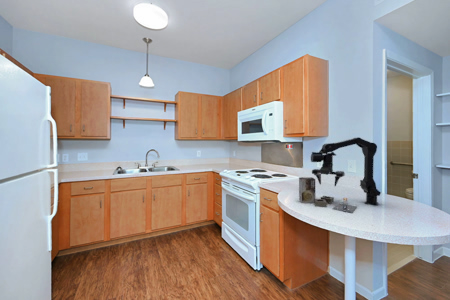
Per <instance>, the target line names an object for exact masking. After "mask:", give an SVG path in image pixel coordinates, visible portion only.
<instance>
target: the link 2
mask: <svg viewBox="0 0 450 300" xmlns="http://www.w3.org/2000/svg"><path fill="white" fill-rule="evenodd" d="M320 199H323V200H325V201H326V202H327V204H330V205H332V204H333V203H334V202H335V197H334V196H328V195H322V196H320Z"/></svg>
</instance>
